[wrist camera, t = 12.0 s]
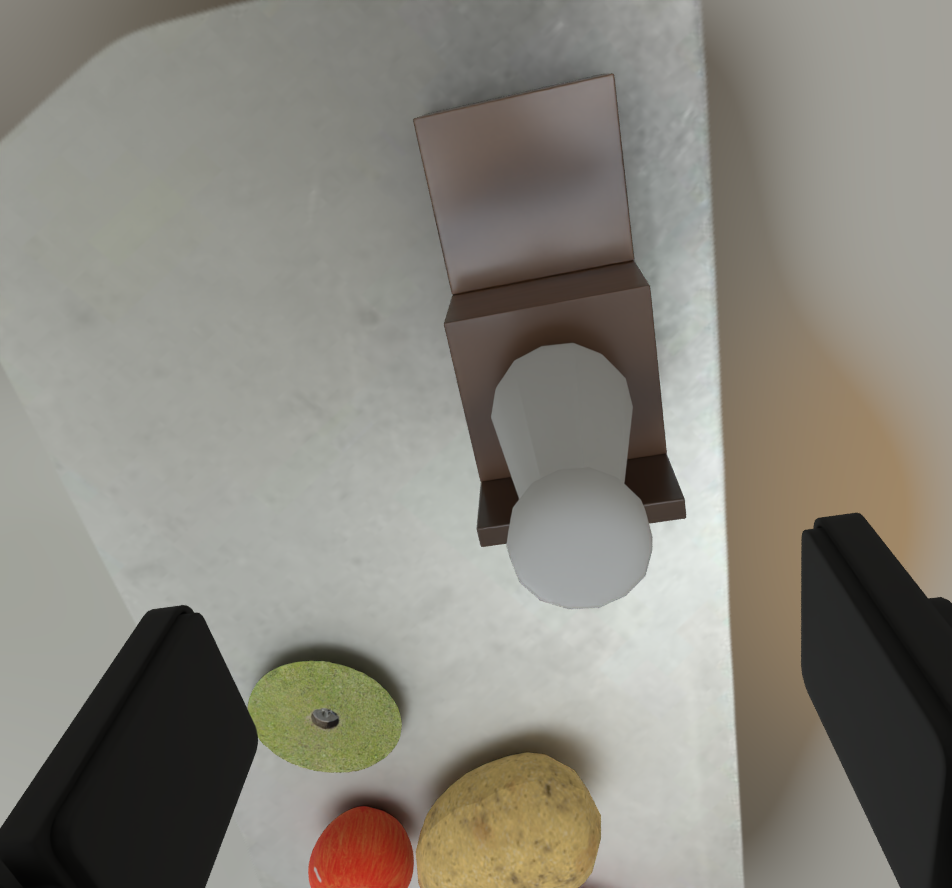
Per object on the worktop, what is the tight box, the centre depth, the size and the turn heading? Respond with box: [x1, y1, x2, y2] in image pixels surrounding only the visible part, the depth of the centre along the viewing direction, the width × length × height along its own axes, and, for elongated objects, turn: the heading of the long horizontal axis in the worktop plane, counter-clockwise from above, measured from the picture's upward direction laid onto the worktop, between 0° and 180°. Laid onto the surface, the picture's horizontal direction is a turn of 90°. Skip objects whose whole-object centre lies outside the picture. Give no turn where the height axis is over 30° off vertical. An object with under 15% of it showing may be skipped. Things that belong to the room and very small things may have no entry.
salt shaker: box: [491, 343, 652, 609], centre depth 26 cm, size 6×6×13 cm
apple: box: [308, 806, 414, 888], centre depth 57 cm, size 8×8×8 cm
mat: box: [248, 660, 402, 773], centre depth 53 cm, size 11×11×2 cm
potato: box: [416, 752, 601, 888], centre depth 53 cm, size 10×14×10 cm
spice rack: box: [413, 73, 686, 547], centre depth 33 cm, size 17×9×13 cm, turn 12°
